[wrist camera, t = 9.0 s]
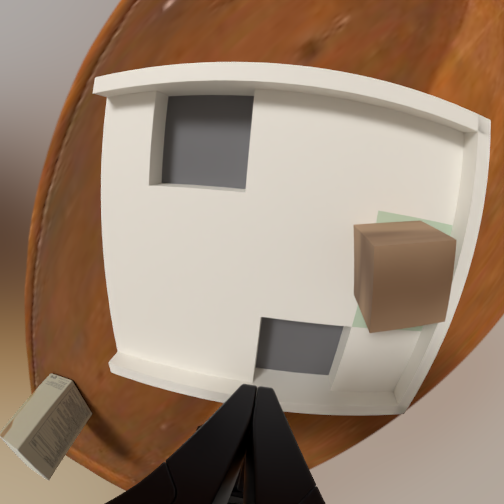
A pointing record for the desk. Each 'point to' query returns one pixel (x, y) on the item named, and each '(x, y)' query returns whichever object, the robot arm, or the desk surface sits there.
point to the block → (402, 274)
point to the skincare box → (47, 425)
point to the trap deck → (275, 227)
